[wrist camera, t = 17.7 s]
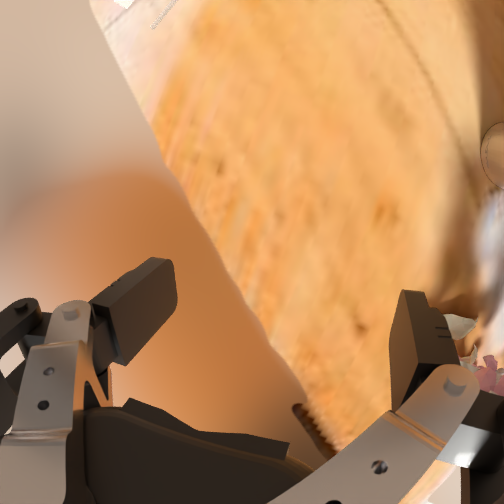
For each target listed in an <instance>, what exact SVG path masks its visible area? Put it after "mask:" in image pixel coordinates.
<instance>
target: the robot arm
mask: <svg viewBox="0 0 504 504" xmlns="http://www.w3.org/2000/svg"><path fill="white" fill-rule="evenodd" d="M481 160H482V165H483V168H484V171H485V173H486V174H487V176H488V178H489V179H490V180H491V181H492V182H493V183H494V184H495V185H496V186H498V187H500V188H502V189H504V122H502V123H498V124H496V125H494V126H492V127H491V128H490V129H489V130H488V131H487V133H486V135H485V136H484V139H483V142H482V147H481ZM176 306H177V290H176V282H175V273H174V266H173V263H172V261H171V260H169V259H163V258H155V257H151V258H149V259H148V260H146V261H145V262H144V263H142V264H141V265H140V266H138V267H137V268H136V269H134V270H132V271H129V272H127V273H125V274H124V275H123V276H121V277H120V278H119V279H118V280H117V281H115V282H113V283H112V284H111V286H108V287H107V288H106V289H104V290H103V291H102V292H100V293H99V294H98V295H97V296H95V297H94V298H93V299H91V300H90V301H89V302H86V301H82V300H74V301H69V302H66V303H63V304H61V305H60V306H58V307H57V308H56V309H55V310H54V311H53V313H47V312H41V309H40V306H39V303H38V301H37V300H36V299H34V298H24V299H20V300H18V301H15V302H14V303H12V304H11V305H9V306H8V307H7V308H5V309H4V310H3V311H1V312H0V359H1V357H2V356H3V355H4V354H5V353H6V352H7V351H8V350H9V349H11V348H12V347H13V346H14V345H15V344H16V343H18V345H19V347H20V349H21V351H22V354H23V356H24V358H25V360H24V361H23V362H22V363H21V364H20V365H19V366H17V367H16V368H15V369H14V370H13V371H12V372H11V373H10V374H9V375H8V376H7V377H6V378H4V376H3V374H2V373H1V371H0V504H398V503H399V502H400V501H401V500H402V499H403V498H404V497H405V495H406V494H407V493H408V492H409V491H410V490H411V489H412V487H413V486H414V485H415V484H416V483H417V482H418V480H419V479H420V478H421V477H422V476H423V474H424V473H425V472H426V471H427V469H428V468H429V467H430V466H431V464H432V463H433V462H434V461H435V459H436V460H440V461H443V462H447V463H450V464H454V465H457V466H461V504H504V396H500V395H496V394H493V393H489V392H486V391H483V390H481V389H480V384H479V381H478V379H477V378H476V376H475V375H474V374H473V373H472V372H471V371H470V370H468V369H466V368H464V367H462V366H461V363H460V360H459V357H458V354H457V350H456V347H455V344H454V341H453V339H452V335H451V332H450V330H449V326H448V323H447V321H446V318H445V317H444V316H443V314H442V313H441V312H440V311H439V310H438V309H437V308H430V307H429V306H428V302H427V299H426V296H425V293H424V292H421V291H412V290H402V291H401V293H400V296H399V300H398V304H397V308H396V312H395V316H394V320H393V324H392V327H391V332H390V337H389V357H390V374H391V399H392V410H388V411H387V412H385V413H384V414H383V415H382V416H381V417H380V418H378V419H377V420H376V421H375V422H374V423H373V424H372V425H371V426H370V427H369V428H368V429H366V430H365V431H364V432H363V433H362V434H361V435H360V436H358V437H357V438H356V439H355V440H354V441H353V442H351V443H350V444H349V445H348V446H347V447H345V448H344V449H343V450H342V451H340V452H339V453H338V454H337V455H335V456H334V457H333V458H332V459H330V460H329V461H328V462H327V463H325V464H324V465H323V466H321V467H320V468H319V469H317V470H316V471H315V470H314V469H312V468H311V467H309V466H308V465H306V464H305V463H303V462H302V461H300V460H298V459H296V458H294V457H291V456H289V455H288V451H289V445H290V443H288V442H283V441H277V440H272V439H268V438H263V437H258V436H254V435H249V434H241V433H219V432H205V431H198V430H196V429H193V428H192V427H190V426H188V425H187V424H185V423H183V422H182V421H180V420H178V419H177V418H175V417H174V416H172V415H170V414H169V413H167V412H166V411H164V410H162V409H159V408H157V407H153V406H151V405H148V404H145V403H142V402H140V401H137V400H135V399H132V398H129V399H128V400H127V402H126V403H125V404H124V405H123V407H113V395H112V373H111V369H110V366H109V365H110V364H111V363H112V362H115V363H117V364H121V365H123V366H127V365H128V363H129V362H130V361H131V360H132V359H133V358H134V356H136V354H137V353H138V352H139V351H140V350H141V349H142V348H143V346H144V345H145V344H146V343H147V342H148V341H149V340H150V338H151V337H152V336H153V335H154V334H155V333H156V332H157V331H158V330H159V328H160V327H161V326H162V325H163V324H164V323H165V322H166V320H167V319H168V318H169V317H170V316H171V315H172V314H173V312H174V311H175V309H176ZM11 426H12V430H11V432H10V433H9V434H6V435H4V434H5V433H6V432H7V430H8V429H9V428H10V427H11Z"/></svg>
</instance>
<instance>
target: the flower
mask: <svg viewBox="0 0 504 504" xmlns="http://www.w3.org/2000/svg"><path fill="white" fill-rule="evenodd" d="M443 316H444V317H445V318H446V321H447V323H448V326H449V330H450V332H451V335H452V339H454V340H459V339H462V338H463V337H465V336H466V335H467V334H468V333H469V332H470V331H471V330H472V329H473V328H474V327H475V325H476V323H477V320H478V318H477V320H476V321H474V320H473V319H469V318H464V317H460V316H457V315H454V314H444V315H443ZM458 357H459V360H460V363H461V366H462V367H464V368H466V369H468V370H470V371H471V372H472V373H473V374H474V375H475V376H476V378H477V379H478V381H479V384H480V389H481V390H483V391H486V392H489V393H493V394H496V395H500V396H504V369H503V368H499V369H498V370H497V361H496V360H495V359H494V356H493V355H487V356H484V357H483V359H484V361H485V363H486V366H487V368H485V367H483V366H478V367H477V366H476V365H475V364H473V363H474V362H475V360H476V358H477V347H476V346H475V344H474V350H473V351H472V353H471V356H467V357H463V358H461V357H460V356H459V355H458Z"/></svg>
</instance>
